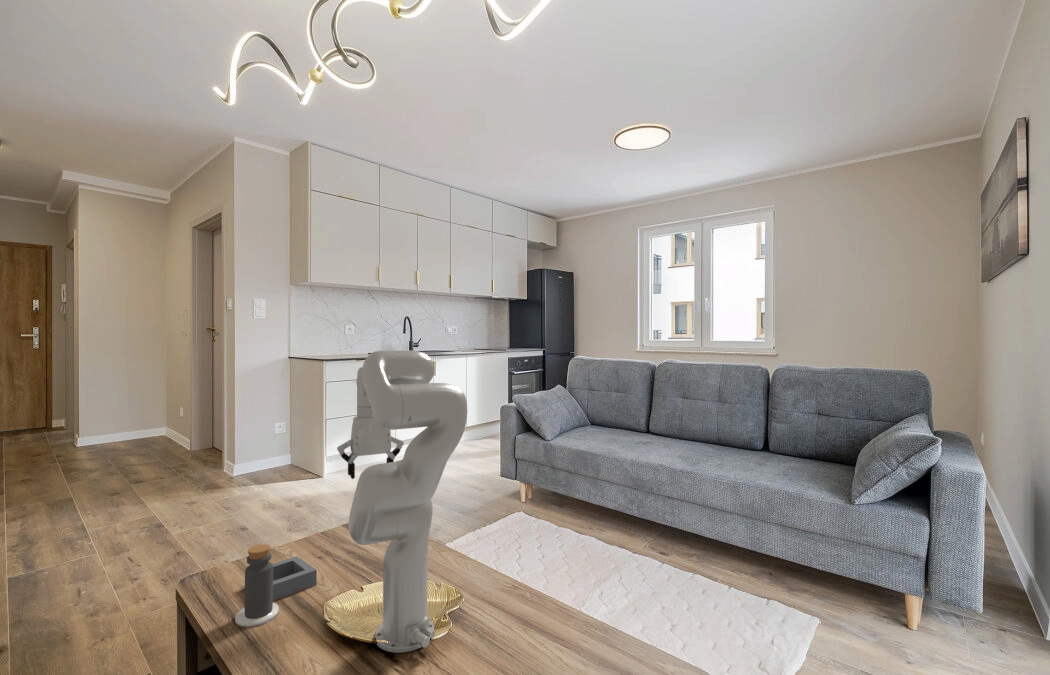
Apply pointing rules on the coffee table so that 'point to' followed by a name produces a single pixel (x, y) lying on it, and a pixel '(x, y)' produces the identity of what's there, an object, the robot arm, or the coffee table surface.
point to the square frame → (292, 577)
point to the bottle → (258, 582)
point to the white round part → (247, 622)
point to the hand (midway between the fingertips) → (370, 475)
